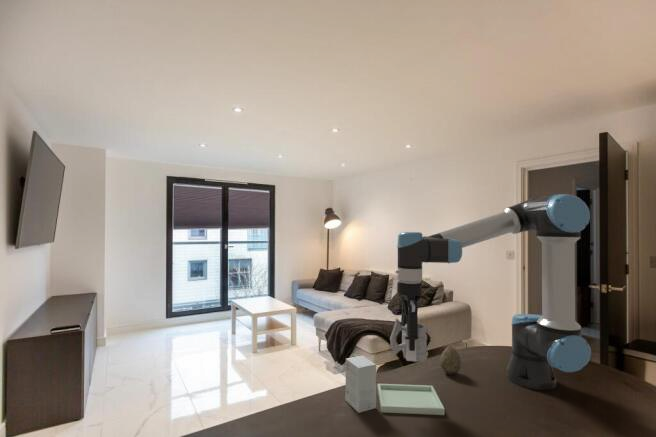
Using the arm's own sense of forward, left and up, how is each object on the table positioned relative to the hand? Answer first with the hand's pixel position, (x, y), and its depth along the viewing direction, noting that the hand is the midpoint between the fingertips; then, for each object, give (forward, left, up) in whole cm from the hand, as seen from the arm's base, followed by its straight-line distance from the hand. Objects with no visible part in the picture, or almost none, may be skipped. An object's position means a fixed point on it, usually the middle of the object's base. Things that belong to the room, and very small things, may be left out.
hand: (408, 355), depth 106 cm
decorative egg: (-19, -21, -14) cm, 32 cm away
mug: (0, 0, -1) cm, 1 cm away
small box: (+15, +3, -14) cm, 21 cm away
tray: (0, 0, -14) cm, 14 cm away
